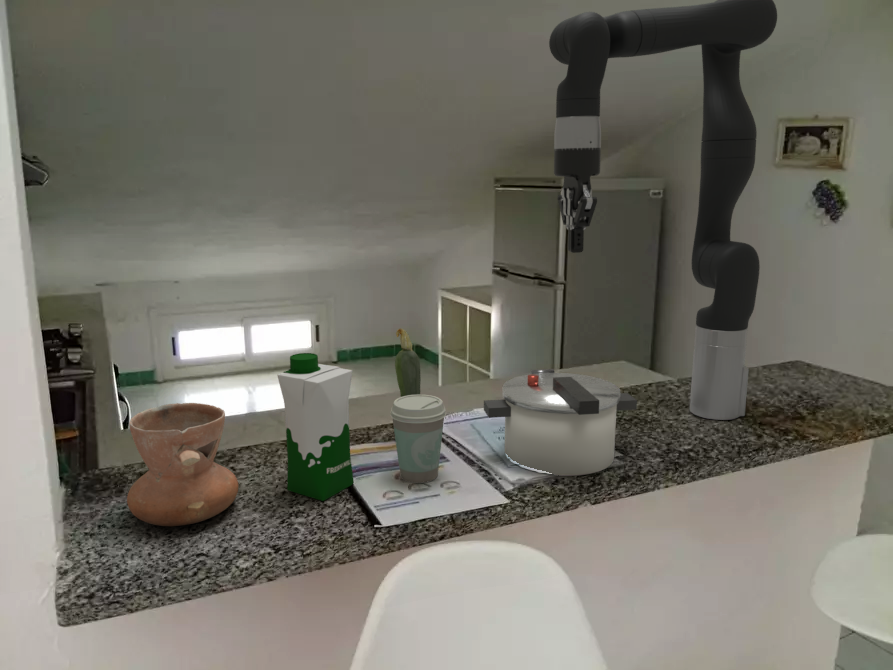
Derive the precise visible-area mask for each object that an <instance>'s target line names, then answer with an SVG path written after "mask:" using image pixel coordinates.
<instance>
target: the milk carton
mask: <svg viewBox="0 0 893 670" xmlns="http://www.w3.org/2000/svg"><path fill="white" fill-rule="evenodd" d="M289 363H290V364H289V367H290V368H289V369H288V370H285V371H283V372H281V373H278V374H277V379H278V383H279V387H280V390H281V395H282V399H283V404H284V417H285V434H286V438H285V439H286V452H287V454H286V455H287V471H286V472H287V477H286V478H287V479H286V481H287V482H286V484H287V485H286V486H287V487H286V490H287V491H289V492H293V493H295V494H299V495H301V496H305V497H308V498H312V499H314V500H318V501H320V502H325V501H326V500H328V499H330V498H331V497H333V496H335V495H336V494H338V493H340V492H341V491H345V489H347V488H349V487H351V486H352V484H353V483H354V484H355V482H354V473H353V465H352V459H351V441H350V437H351V435H350V413H349V412H350V408H349V407H350V406H349V403H350V402H349V398H350V391H351V384H352V376H353V372H354V371H353V369H347V368H341V367H340V366H335V365H328V364H322V363H319V357H318V354H316V353H312V352H311V353H310V352H302V353H301V352H300V353H295V354H292V355H290V357H289ZM354 484H353V485H354Z"/></svg>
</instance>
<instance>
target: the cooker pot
mask: <svg viewBox="0 0 893 670" xmlns="http://www.w3.org/2000/svg"><path fill="white" fill-rule="evenodd" d="M637 405H638V399H636V398H635V397H633V396H632V394H630V393H628V392H620V401H619V403H618V404H616V405H615V406H613V407H611V408H608V409H605V410H602V411H599V414H584V415H579V414H578V413H577V414H561V413H547V412H540V411H534V410H529V409H525V408H522V407H518V406H516V405H513V404H511V403H509V402H508V401H506V400H505V399H504V398H503V399H485V400H483V411H484V413H485V414H486V416H487V417H488V418H492V419H493V418H504V454H505V453H506V454H507V455H508V457H510V458H511V459H512V460H513V461H516V462H517V463H519V464H521V465H524V466H527V467H530V468H534V469H537V470H542V471H546V472H549V473H552V474H554V475H553V476H558V475H559V476H562V477H564V476H565V477H571V476H572V477H573V476H584V475H589V474H594V473H598V472H601V471H602V470H605V469H607V468H609V467H610V466H611V465H612V464H613V462H614V460H615V447H616V446H615V443H616V426H617V425H616V424H617V422H616V421H617V411H634V410H635V411H636V410H637V408H638V406H637Z"/></svg>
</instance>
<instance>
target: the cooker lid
mask: <svg viewBox="0 0 893 670" xmlns="http://www.w3.org/2000/svg"><path fill="white" fill-rule="evenodd" d="M501 391H502V397H503V399H505V400H506V401H508V402H509V403H511V404H513V405H516V406H518V407H522V408H525V409H529V410H534V411H540V412H547V413H561V414H577V413H578V414H579V415H584V414H599V411H602V410H605V409H608V408H611V407H613V406H615V405H616V404H618V403H619V401H620V393H621V389H620V387H619V386H617V385H616V384H615V383H613V382H611V381H609V380H606V379H603V378H600V377H596V376H591V375H586V374H582V373H581V374H579V373H570V372H569V373H567V372H555V369H554V368H546V369H545V368H544V369H530V372H529V373H528V374H523V375H518V376H515V377H512V378H510V379H508V380H506V381H505V382H504V383H503V385H502V389H501Z"/></svg>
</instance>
